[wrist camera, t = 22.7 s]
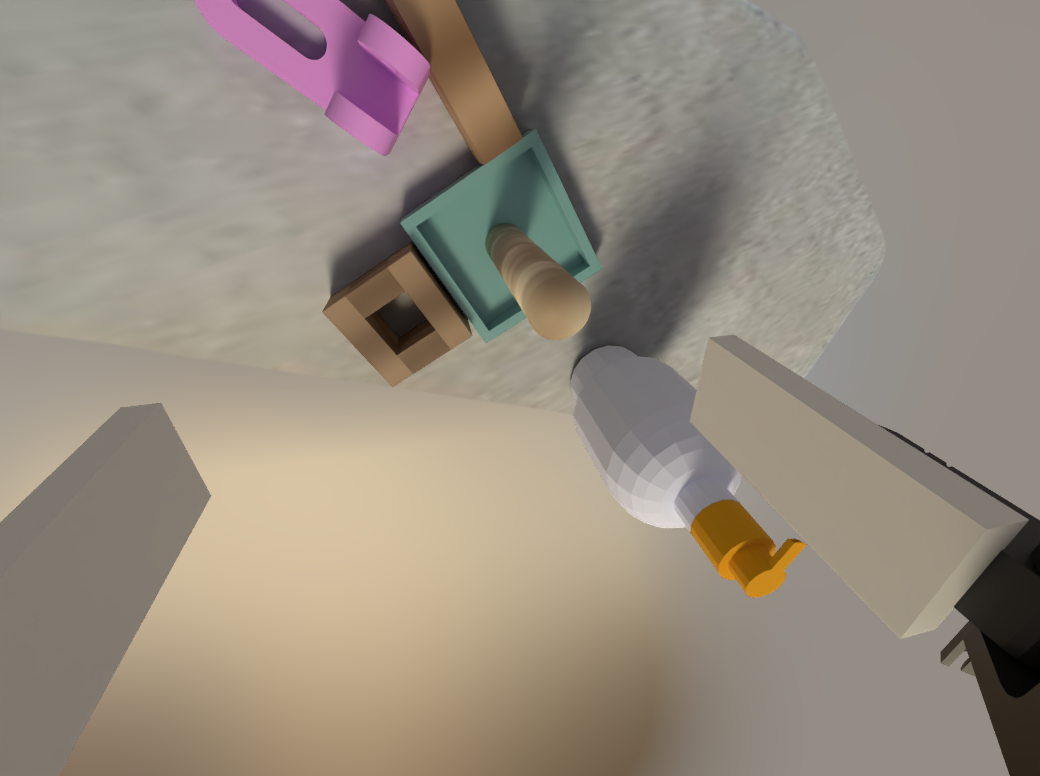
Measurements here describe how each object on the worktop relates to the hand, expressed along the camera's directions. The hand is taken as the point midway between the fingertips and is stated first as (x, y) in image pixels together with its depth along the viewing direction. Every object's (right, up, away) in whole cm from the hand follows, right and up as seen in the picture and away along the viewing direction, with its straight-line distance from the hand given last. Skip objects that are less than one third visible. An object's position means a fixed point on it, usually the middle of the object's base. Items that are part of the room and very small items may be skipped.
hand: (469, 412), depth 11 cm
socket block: (-9, +7, +25) cm, 28 cm away
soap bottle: (+10, +2, +33) cm, 35 cm away
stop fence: (-4, +22, +18) cm, 29 cm away
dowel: (0, +12, +24) cm, 27 cm away
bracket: (-12, +22, +16) cm, 30 cm away
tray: (0, +13, +24) cm, 27 cm away
